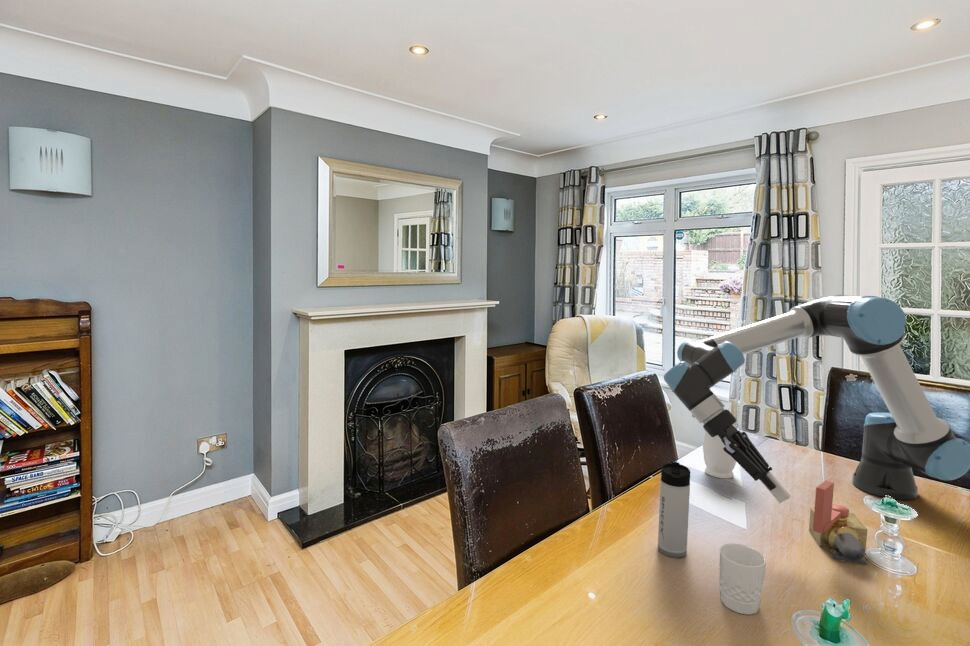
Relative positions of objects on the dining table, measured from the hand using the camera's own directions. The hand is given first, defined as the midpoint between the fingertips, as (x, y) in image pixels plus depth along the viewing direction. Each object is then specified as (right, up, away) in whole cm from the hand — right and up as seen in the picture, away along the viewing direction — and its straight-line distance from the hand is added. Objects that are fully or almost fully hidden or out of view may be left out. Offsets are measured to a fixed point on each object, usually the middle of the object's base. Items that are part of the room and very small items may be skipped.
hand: (785, 499), depth 114 cm
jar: (+5, -7, +42) cm, 43 cm away
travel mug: (-27, -11, -1) cm, 29 cm away
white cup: (-21, -13, -20) cm, 32 cm away
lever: (+9, -4, -2) cm, 10 cm away
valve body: (+14, -11, +3) cm, 18 cm away
